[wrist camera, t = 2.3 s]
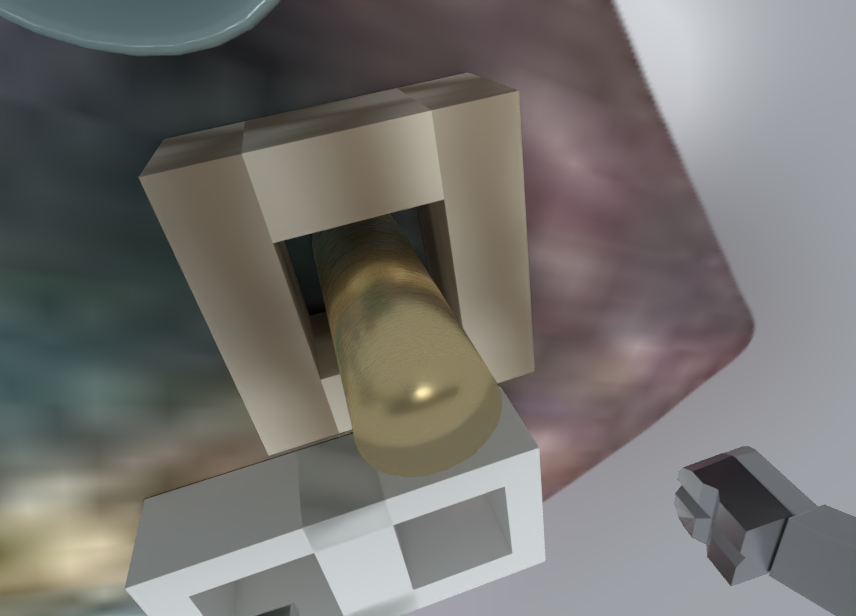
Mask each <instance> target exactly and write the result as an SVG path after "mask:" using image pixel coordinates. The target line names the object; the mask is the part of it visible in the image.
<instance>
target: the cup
mask: <svg viewBox="0 0 856 616" xmlns="http://www.w3.org/2000/svg"><path fill="white" fill-rule="evenodd" d="M280 2H281V0H0V17H2V18H4V19H6V20H8V21H10V22H13V23H15V24H17V25H19V26H21V27H24V28H26V29H28V30H30V31H32V32H35V33H37V34H39V35H42V36H45V37H49V38H52V39H55V40H59V41H62V42H65V43H69V44H72V45H76V46H79V47H82V48H86V49H89V50H95V51H102V52H109V53H116V54H124V55H131V56H170V55H186V54H190V53H194V52H198V51H202V50H206V49H210V48H215V47H219V46H222V45H224V44H225V43H227V42H229V41H231V40H233V39H235V38H237V37H239V36H240V35H242V34H244V33H246V32H248V31H250V30H252V29H254V28H255V27H256V26H257V25H258V24H259V23H260V22H261V21H262V20H263V19H264V18H265V17H266V16H267V15H268V14H269V13H270V12H271V11H272V10H273V9H274V8H275V7H276V6H277V5H278V4H279V3H280Z"/></svg>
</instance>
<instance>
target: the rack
mask: <svg viewBox="0 0 856 616" xmlns="http://www.w3.org/2000/svg"><path fill="white" fill-rule="evenodd" d="M499 388H500V391H501V396H502V411H501V415H500V419H499V422H498V424H497V426H496V428H495V430H494V432H493V433H492V435H491V436H490V438H489V439H488V440H487V442H486V443H485V444H484V445H483V446H482V447H481V448H480V449H479V450H478V451H477V452H476V453H475V454H473V455H472V456H471V457H469V458H468V459H467V460H465V461H463V462H462V463H460V464H458V465H456V466H454V467H452V468H450V469H448V470H445V471H442V472H439V473H436V474H432V475H427V476H421V477H400V476H394V475H390V474H387V473H384V472H381V471H379V470H377V469H375V468H374V467H372V466H371V465H370V464H368V463H367V462H366V461H365V460H364V459H363V457H362V456H361V454H360V453H359V451H358V449H357V446H356V443H355V439H354V434H353V433H352V434H349V435H346V436H343V437H340V438H336V439H333V440H330V441H327V442H324V443H321V444H318V445H314V446H311V447H308V448H305V449H302V450H299V451H295V452H292V453H289V454H286V455H283V456H280V457H277V458H273V459H270V460H267V461H264V462H261V463H258V464H255V465H251V466H248V467H245V468H242V469H239V470H236V471H233V472H229V473H226V474H223V475H220V476H217V477H214V478H210V479H207V480H204V481H201V482H198V483H195V484H192V485H188V486H185V487H182V488H179V489H176V490H173V491H170V492H166V493H163V494H160V495H157V496H154V497H151V498H148V499H145V500H144V504H143V509H142V513H141V518H140V522H139V527H138V531H137V536H136V540H135V545H134V549H133V554H132V558H131V563H130V567H129V572H128V576H127V581H126V585H125V590H126V591H127V592H128V593H129V594H130V595H131V597H132V598H133V599H134V600H135V601H136V602H137V603H138V605H139V606H140V607H141V608H142V609H143V610H144V612H145V613H146V614H147V615H148V616H255V615H258V614H261V613H264V612H267V611H269V610H272V609H275V608H278V607H281V606H284V605H287V604H290V603H293V602H294V603H295V605H296V606H297V608H298V610H299V614H300V616H401V615H404V614H406V613H409V612H411V611H414V610H417V609H420V608H422V607H425V606H428V605H430V604H432V603H435V602H438V601H441V600H443V599H446V598H449V597H451V596H454V595H457V594H459V593H462V592H465V591H467V590H470V589H473V588H475V587H478V586H481V585H483V584H486V583H489V582H491V581H494V580H496V579H499V578H502V577H504V576H507V575H510V574H512V573H515V572H518V571H521V570H523V569H526V568H528V567H531V566H534V565H536V564H539V563H542V562H544V561H545V547H544V529H543V509H542V491H541V474H540V456H539V447H538V445H537V444H536V442H535V440H534V439H533V437H532V436H531V434H530V432H529V431H528V429H527V428H526V426H525V425H524V423H523V421H522V420H521V418H520V417H519V415H518V413H517V412H516V410H515V409H514V407H513V405H512V404H511V402H510V401H509V399H508V397H507V396H506V394H505V393H504V391H503V390H502V388H501V386H500V387H499Z"/></svg>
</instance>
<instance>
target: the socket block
mask: <svg viewBox="0 0 856 616" xmlns="http://www.w3.org/2000/svg"><path fill="white" fill-rule="evenodd" d="M139 180H140V182H141V184H142V186H143V188H144V190H145V192H146V195H147V197H148V199H149V201H150V203H151V205H152V207H153V210H154V212H155V214H156V216H157V218H158V220H159V222H160V224H161V227H162V229H163V231H164V233H165V235H166V237H167V239H168V242H169V244H170V246H171V248H172V250H173V252H174V254H175V257H176V259H177V261H178V263H179V265H180V267H181V269H182V271H183V274H184V276H185V278H186V280H187V282H188V284H189V286H190V289H191V291H192V293H193V295H194V297H195V299H196V301H197V304H198V306H199V308H200V310H201V312H202V314H203V316H204V318H205V321H206V323H207V325H208V327H209V329H210V331H211V333H212V336H213V338H214V340H215V342H216V344H217V346H218V348H219V351H220V353H221V355H222V357H223V359H224V361H225V363H226V365H227V368H228V370H229V372H230V374H231V376H232V378H233V380H234V383H235V385H236V387H237V389H238V391H239V393H240V395H241V398H242V400H243V402H244V404H245V406H246V408H247V410H248V412H249V415H250V417H251V419H252V421H253V423H254V425H255V427H256V430H257V432H258V434H259V436H260V438H261V440H262V442H263V445H264V447H265V449H266V451H267V453H268V455H272V454H275V453H279V452H282V451H285V450H288V449H291V448H294V447H298V446H301V445H304V444H307V443H310V442H313V441H317V440H320V439H323V438H326V437H329V436H332V435H336V434H339V433H342V432H345V431H348V430H351V429H352V425H351V421H350V416H349V412H348V407H347V403H346V398H345V394H344V389H343V385H342V380H341V376H340V371H339V367H338V362H337V358H336V353H335V349H334V344H333V340H332V335H331V331H330V326H329V322H328V318H327V313H326V312H322V313H319V314H315V315H311V316H310V315H309V312H308V309H307V306H306V303H305V300H304V297H303V294H302V291H301V288H300V285H299V282H298V279H297V276H296V273H295V270H294V267H293V264H292V261H291V258H290V255H289V252H288V249H287V246H286V243H285V240H287V239H291V238H295V237H299V236H303V235H307V234H311V233H315V232H319V231H323V230H326V229H330V228H334V227H338V226H342V225H346V224H350V223H354V222H358V221H362V220H366V219H369V218H373V217H377V216H381V215H385V214H389V213H393V212H397V211H401V210H405V209H409V208H412V207H416V206H417V207H418V213H419V219H420V224H421V230H422V236H423V242H424V247H425V253H426V259H427V264H428V270H429V275H430V276H431V278H432V279H433V281H434V283H435V284H436V286H437V287H438V289H439V291H440V292H441V294H442V295H443V297H444V299H445V300H446V302H447V303H448V305H449V307H450V308H451V310H452V311H453V313H454V315H455V316H456V318H457V319H458V321H459V323H460V324H461V326H462V327H463V329H464V331H465V332H466V334H467V335H468V337H469V339H470V340H471V342H472V343H473V345H474V347H475V348H476V350H477V351H478V353H479V355H480V356H481V358H482V359H483V361H484V363H485V364H486V366H487V367H488V369H489V371H490V372H491V374H492V375H493V377H494V379H495V380H496V382H497V383H500V382H503V381H506V380H509V379H513V378H516V377H519V376H522V375H525V374H528V373H531V372H535V367H534V350H533V332H532V314H531V297H530V279H529V261H528V244H527V226H526V208H525V190H524V173H523V155H522V137H521V120H520V102H519V90H516V89H513V88H510V87H507V86H505V85H502V84H499V83H496V82H493V81H490V80H488V79H485V78H482V77H479V76H476V75H473V74H471V73H468V72H467V73H463V74H458V75H454V76H449V77H445V78H440V79H435V80H431V81H426V82H422V83H417V84H413V85H408V86H403V87H399V88H394V89H390V90H385V91H381V92H376V93H372V94H367V95H362V96H358V97H353V98H349V99H344V100H340V101H335V102H330V103H326V104H321V105H317V106H312V107H308V108H303V109H298V110H294V111H289V112H285V113H280V114H276V115H271V116H267V117H262V118H257V119H253V120H248V121H244V122H239V123H235V124H230V125H225V126H221V127H216V128H212V129H207V130H203V131H198V132H194V133H189V134H184V135H180V136H175V137H171V138H166V139H163V141H162V142H161V144H160V145H159V147H158V148H157V150H156V151H155V153H154V154H153V156H152V157H151V159H150V160H149V162H148V164H147V165H146V167H145V168H144V170H143V171H142V173H141V174H140V176H139Z"/></svg>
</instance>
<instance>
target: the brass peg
mask: <svg viewBox="0 0 856 616" xmlns="http://www.w3.org/2000/svg"><path fill="white" fill-rule="evenodd" d="M312 250H313V255H314V259H315V264H316V268H317V273H318V277H319V282H320V286H321V291H322V295H323V300H324V304H325V309H326V313H327V318H328V322H329V326H330V331H331V335H332V340H333V344H334V349H335V353H336V358H337V362H338V367H339V371H340V376H341V380H342V385H343V389H344V394H345V398H346V403H347V407H348V412H349V416H350V421H351V425H352V430H353V434H354V439H355V443H356V446H357V449H358V451H359V453H360V454H361V456H362V457H363V459H364V460H365V461H366V462H367V463H368V464H370V465H371V466H372V467H374V468H375V469H377V470H379V471H381V472H384V473H387V474H390V475H394V476H400V477H421V476H427V475H432V474H436V473H439V472H442V471H445V470H448V469H450V468H452V467H454V466H456V465H458V464H460V463H462V462H463V461H465V460H467V459H468V458H469V457H471V456H472V455H473V454H475V453H476V452H477V451H478V450H479V449H480V448H481V447H482V446H483V445H484V444H485V443H486V442H487V440H488V439H489V438H490V436H491V435H492V433H493V432H494V430H495V428H496V426H497V424H498V422H499V419H500V415H501V411H502V396H501V391H500V388H499V386H498V384H497V382H496V380H495V379H494V377H493V375H492V374H491V372H490V371H489V369H488V367H487V366H486V364H485V363H484V361H483V359H482V358H481V356H480V355H479V353H478V351H477V350H476V348H475V347H474V345H473V343H472V342H471V340H470V339H469V337H468V335H467V334H466V332H465V331H464V329H463V327H462V326H461V324H460V323H459V321H458V319H457V318H456V316H455V315H454V313H453V311H452V310H451V308H450V307H449V305H448V303H447V302H446V300H445V299H444V297H443V295H442V294H441V292H440V291H439V289H438V287H437V286H436V284H435V283H434V281H433V279H432V278H431V276H430V275H429V273H428V271H427V270H426V268H425V267H424V265H423V263H422V262H421V260H420V259H419V257H418V255H417V254H416V252H415V251H414V249H413V247H412V246H411V244H410V243H409V241H408V239H407V238H406V236H405V235H404V233H403V231H402V230H401V228H400V227H399V225H398V223H397V222H396V220H395V219H394V217H393V216H392V215H391V213H389V214H385V215H381V216H377V217H373V218H369V219H366V220H362V221H358V222H354V223H350V224H346V225H342V226H338V227H334V228H330V229H326V230H323V231H319V232H315V233H313V236H312Z"/></svg>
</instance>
